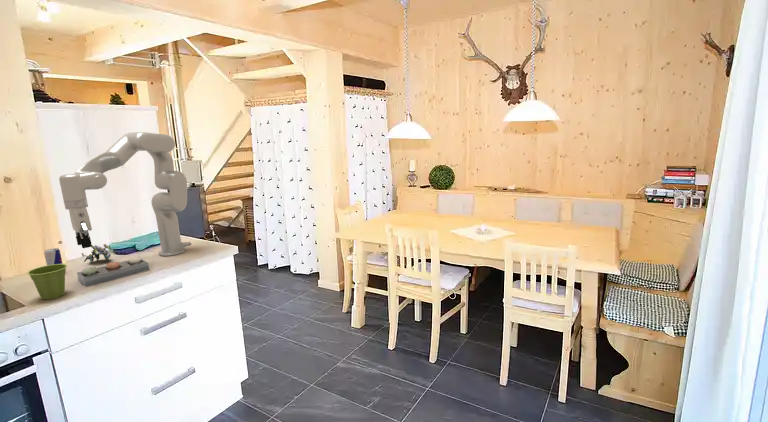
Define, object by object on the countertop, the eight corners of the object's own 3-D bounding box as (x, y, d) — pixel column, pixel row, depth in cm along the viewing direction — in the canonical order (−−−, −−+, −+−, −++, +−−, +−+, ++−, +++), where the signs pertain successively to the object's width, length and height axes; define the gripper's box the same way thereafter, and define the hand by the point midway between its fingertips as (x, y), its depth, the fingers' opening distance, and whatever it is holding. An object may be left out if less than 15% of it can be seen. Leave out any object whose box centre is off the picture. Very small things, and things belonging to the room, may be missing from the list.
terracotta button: (118, 265, 178) (117, 260, 177) (121, 267, 175) (120, 262, 174) (106, 268, 174) (105, 263, 174) (109, 270, 171) (108, 265, 171)
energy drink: (67, 273, 180) (62, 248, 177) (54, 278, 175) (48, 252, 173) (59, 272, 182) (54, 247, 179) (46, 277, 177) (40, 251, 174)
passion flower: (110, 271, 197) (116, 254, 192) (83, 274, 189) (89, 256, 184) (104, 255, 203) (110, 238, 198) (78, 257, 194) (83, 239, 189)
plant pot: (40, 305, 146) (34, 276, 144) (28, 299, 152) (22, 271, 150) (78, 293, 156) (72, 266, 154) (65, 288, 162) (59, 262, 160)
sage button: (95, 270, 172) (94, 266, 171) (98, 272, 168) (97, 268, 168) (82, 273, 168) (81, 269, 168) (85, 276, 165) (84, 271, 165)
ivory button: (139, 260, 184) (138, 255, 183) (142, 261, 181) (141, 257, 180) (127, 262, 181) (127, 258, 180) (131, 264, 177) (130, 260, 177)
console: (140, 264, 188) (139, 257, 187) (149, 270, 180) (148, 262, 179) (78, 280, 170) (76, 272, 170) (85, 286, 163) (83, 278, 162)
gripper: (92, 204, 159) (101, 247, 163) (82, 201, 171) (90, 240, 174) (69, 208, 154) (78, 251, 157) (60, 203, 165) (69, 244, 169)
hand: (84, 245), depth 166 cm, fingers open, 7 cm apart
